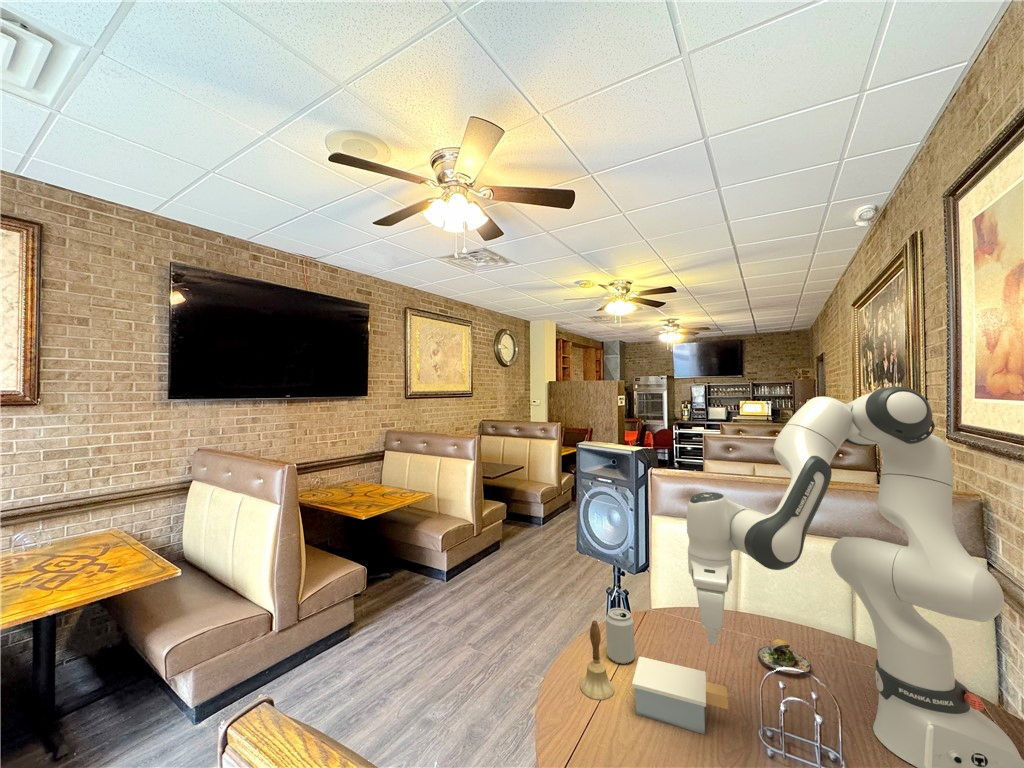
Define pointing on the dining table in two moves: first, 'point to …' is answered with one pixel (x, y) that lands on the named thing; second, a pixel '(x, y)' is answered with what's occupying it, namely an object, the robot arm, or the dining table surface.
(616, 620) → the can
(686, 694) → the lid
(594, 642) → the hand bell
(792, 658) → the burger
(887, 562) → the robot arm
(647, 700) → the tub
